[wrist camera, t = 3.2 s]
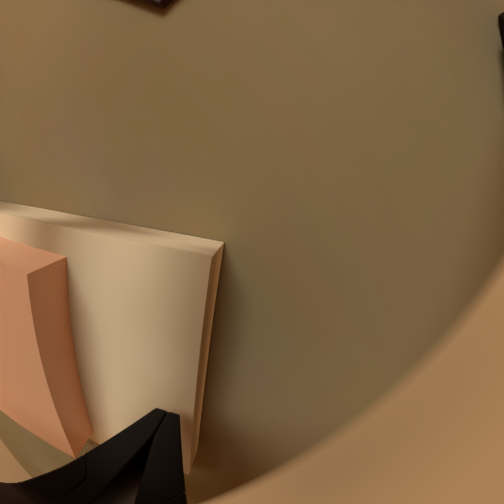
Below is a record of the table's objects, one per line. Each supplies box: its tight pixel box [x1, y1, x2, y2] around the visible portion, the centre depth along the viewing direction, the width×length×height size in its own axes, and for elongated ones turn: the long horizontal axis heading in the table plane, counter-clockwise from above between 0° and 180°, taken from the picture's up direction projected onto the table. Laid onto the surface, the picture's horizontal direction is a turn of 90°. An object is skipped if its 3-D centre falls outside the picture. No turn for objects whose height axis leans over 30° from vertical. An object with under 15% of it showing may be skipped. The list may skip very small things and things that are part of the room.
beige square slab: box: [0, 201, 224, 475], centre depth 10 cm, size 12×11×2 cm
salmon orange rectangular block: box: [0, 237, 93, 458], centre depth 8 cm, size 6×9×2 cm, turn 170°
